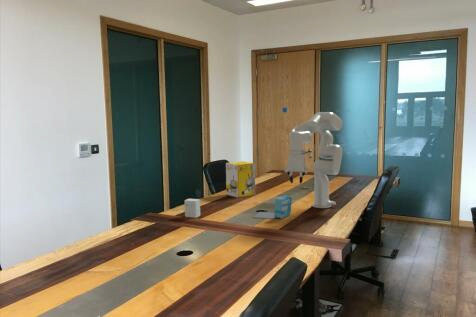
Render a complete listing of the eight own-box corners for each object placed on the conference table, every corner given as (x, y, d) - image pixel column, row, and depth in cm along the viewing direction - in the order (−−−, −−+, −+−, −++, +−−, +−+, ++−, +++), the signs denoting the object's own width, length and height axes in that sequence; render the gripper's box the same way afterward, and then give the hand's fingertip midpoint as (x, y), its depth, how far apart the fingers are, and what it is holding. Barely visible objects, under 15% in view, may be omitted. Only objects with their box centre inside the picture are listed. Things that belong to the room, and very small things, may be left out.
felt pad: (279, 213, 250) (279, 213, 250) (274, 219, 237) (274, 218, 237) (259, 212, 255) (259, 211, 255) (253, 217, 241) (253, 217, 241)
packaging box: (255, 195, 309) (255, 163, 306) (238, 197, 300) (237, 164, 297) (243, 191, 322) (242, 161, 319) (226, 194, 313) (225, 162, 310)
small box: (200, 215, 247) (200, 199, 246) (195, 218, 242) (195, 201, 241) (189, 214, 251) (189, 198, 250) (184, 216, 246) (184, 200, 245)
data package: (280, 219, 237) (281, 199, 235) (273, 217, 239) (275, 198, 237) (290, 215, 246) (291, 196, 244) (284, 213, 249) (285, 194, 247)
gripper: (311, 152, 236) (311, 182, 239) (283, 151, 242) (283, 181, 244) (309, 153, 229) (309, 184, 231) (280, 153, 235) (281, 183, 237)
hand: (296, 182), depth 238 cm, fingers open, 4 cm apart
